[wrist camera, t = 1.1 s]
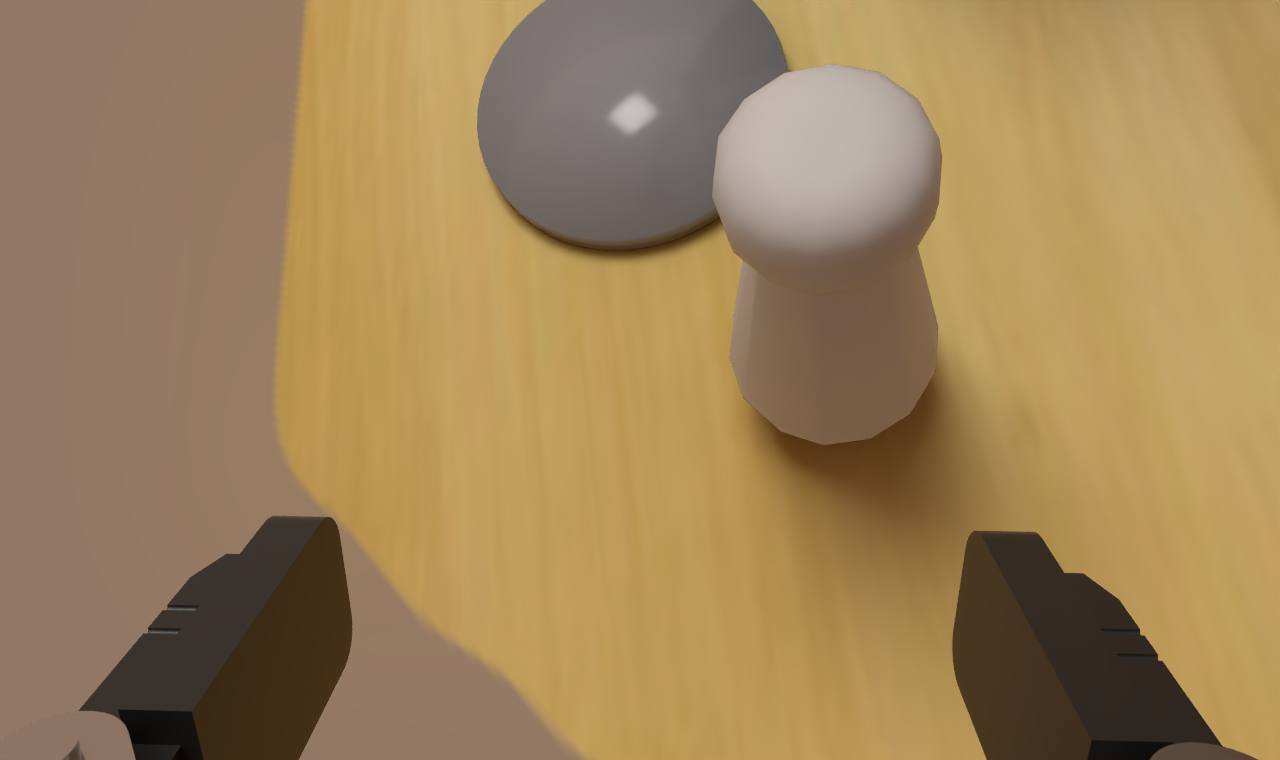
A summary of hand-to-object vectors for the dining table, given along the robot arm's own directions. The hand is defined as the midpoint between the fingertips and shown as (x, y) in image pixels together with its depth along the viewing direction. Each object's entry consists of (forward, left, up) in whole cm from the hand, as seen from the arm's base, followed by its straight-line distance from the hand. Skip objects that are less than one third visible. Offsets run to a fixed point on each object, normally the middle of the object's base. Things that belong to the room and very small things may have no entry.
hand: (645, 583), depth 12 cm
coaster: (-16, -9, -16) cm, 25 cm away
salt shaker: (-8, 0, -16) cm, 18 cm away
